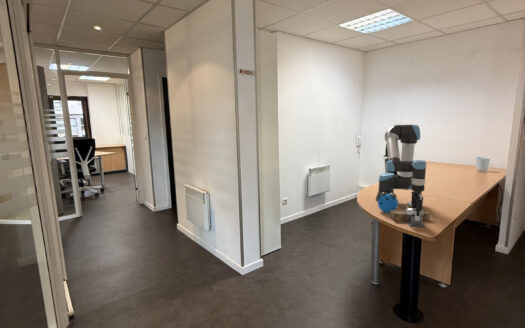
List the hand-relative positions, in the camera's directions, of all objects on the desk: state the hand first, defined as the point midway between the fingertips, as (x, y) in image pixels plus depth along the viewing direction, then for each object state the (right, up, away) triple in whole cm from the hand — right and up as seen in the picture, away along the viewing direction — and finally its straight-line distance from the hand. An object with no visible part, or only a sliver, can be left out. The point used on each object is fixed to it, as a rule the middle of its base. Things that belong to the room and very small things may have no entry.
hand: (415, 218), depth 183 cm
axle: (-1, +3, 0) cm, 3 cm away
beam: (+3, -2, +10) cm, 11 cm away
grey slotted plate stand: (0, -4, +1) cm, 4 cm away
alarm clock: (-7, 0, +26) cm, 27 cm away
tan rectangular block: (+1, +3, +10) cm, 10 cm away
